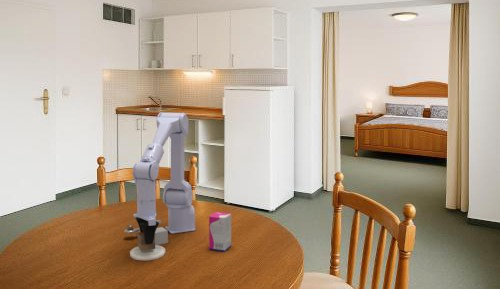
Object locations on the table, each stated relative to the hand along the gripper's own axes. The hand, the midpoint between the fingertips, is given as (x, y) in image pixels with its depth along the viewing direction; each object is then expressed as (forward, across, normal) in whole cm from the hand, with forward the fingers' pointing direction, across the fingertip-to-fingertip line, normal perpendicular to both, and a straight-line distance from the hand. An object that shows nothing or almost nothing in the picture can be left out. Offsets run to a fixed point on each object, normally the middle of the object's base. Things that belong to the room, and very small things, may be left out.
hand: (147, 241), depth 144 cm
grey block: (+4, -9, +6) cm, 12 cm away
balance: (+4, -17, +2) cm, 18 cm away
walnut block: (+2, 0, 0) cm, 2 cm away
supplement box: (+4, +5, +23) cm, 24 cm away
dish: (+4, 0, 0) cm, 4 cm away
